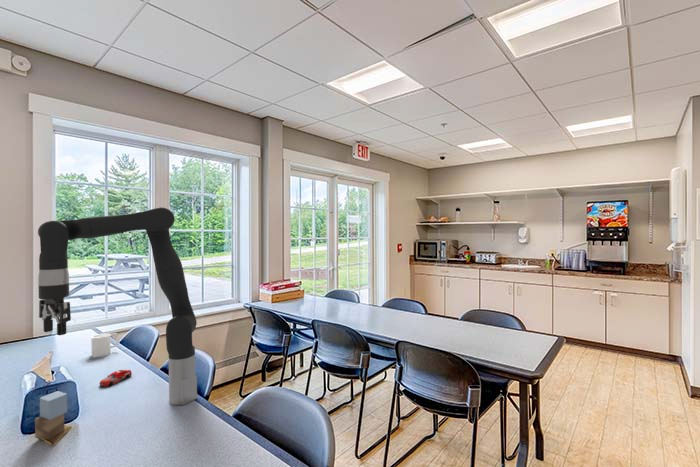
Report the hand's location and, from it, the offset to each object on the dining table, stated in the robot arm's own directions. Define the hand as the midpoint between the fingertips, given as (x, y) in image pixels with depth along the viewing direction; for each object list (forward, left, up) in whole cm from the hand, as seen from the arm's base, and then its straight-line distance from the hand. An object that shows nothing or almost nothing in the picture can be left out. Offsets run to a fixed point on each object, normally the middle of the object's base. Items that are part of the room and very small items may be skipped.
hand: (54, 333), depth 112 cm
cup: (+67, -50, -33) cm, 90 cm away
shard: (0, 0, -34) cm, 34 cm away
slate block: (0, +1, -26) cm, 26 cm away
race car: (+25, -32, -34) cm, 53 cm away
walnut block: (+1, +1, -32) cm, 32 cm away
